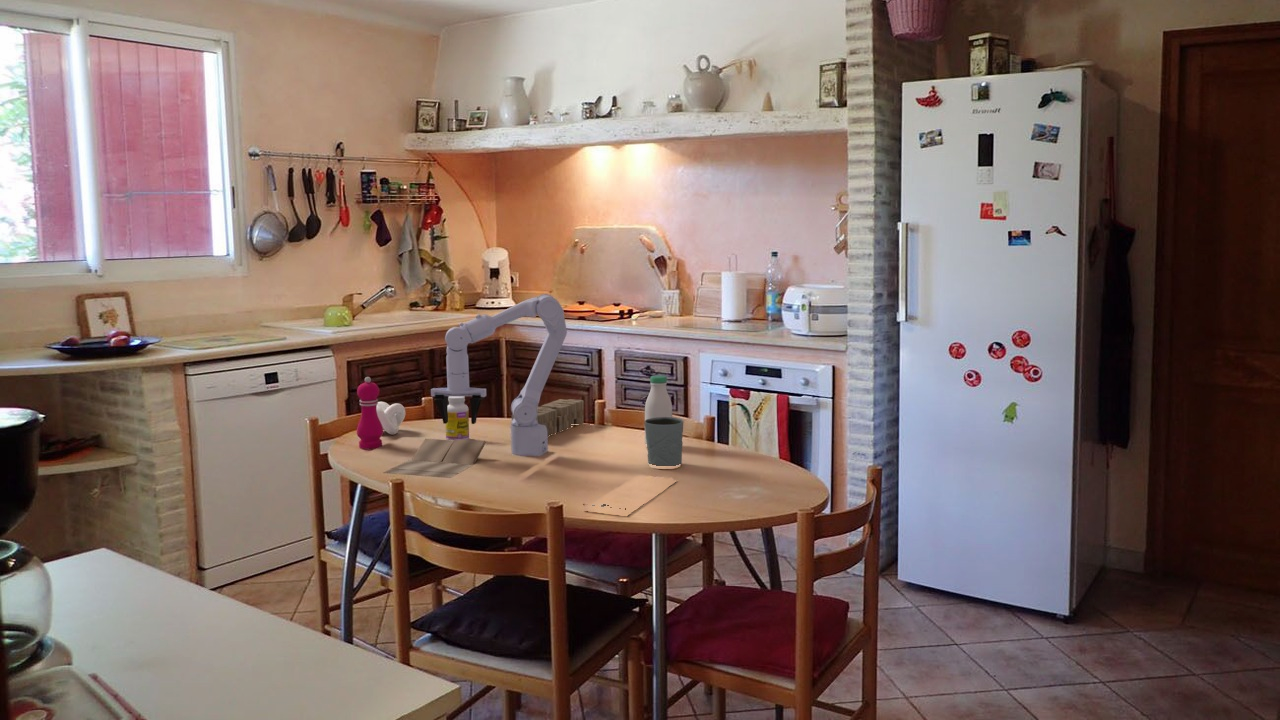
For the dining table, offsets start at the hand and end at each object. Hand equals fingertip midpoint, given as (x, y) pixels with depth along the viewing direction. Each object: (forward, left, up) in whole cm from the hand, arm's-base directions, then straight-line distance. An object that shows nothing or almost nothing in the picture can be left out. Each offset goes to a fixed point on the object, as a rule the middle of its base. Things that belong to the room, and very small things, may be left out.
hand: (459, 423), depth 274 cm
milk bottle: (-47, -28, -10) cm, 56 cm away
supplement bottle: (+11, -20, -10) cm, 25 cm away
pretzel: (+37, -23, -10) cm, 45 cm away
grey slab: (+2, +15, -10) cm, 18 cm away
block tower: (-10, -38, -10) cm, 41 cm away
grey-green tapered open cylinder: (-54, -8, -10) cm, 56 cm away
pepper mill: (+31, -6, -10) cm, 33 cm away
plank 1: (+6, +3, -8) cm, 11 cm away
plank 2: (-3, +4, -8) cm, 9 cm away
